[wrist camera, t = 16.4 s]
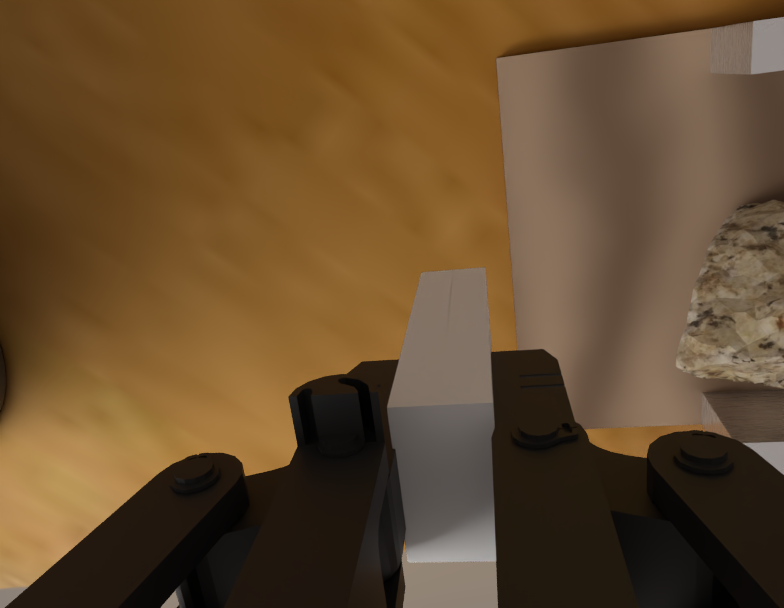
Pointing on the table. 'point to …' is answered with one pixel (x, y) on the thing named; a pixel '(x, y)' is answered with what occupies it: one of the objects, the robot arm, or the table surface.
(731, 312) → the rock
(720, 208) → the cradle board
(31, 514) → the table surface
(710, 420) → the cradle rails
